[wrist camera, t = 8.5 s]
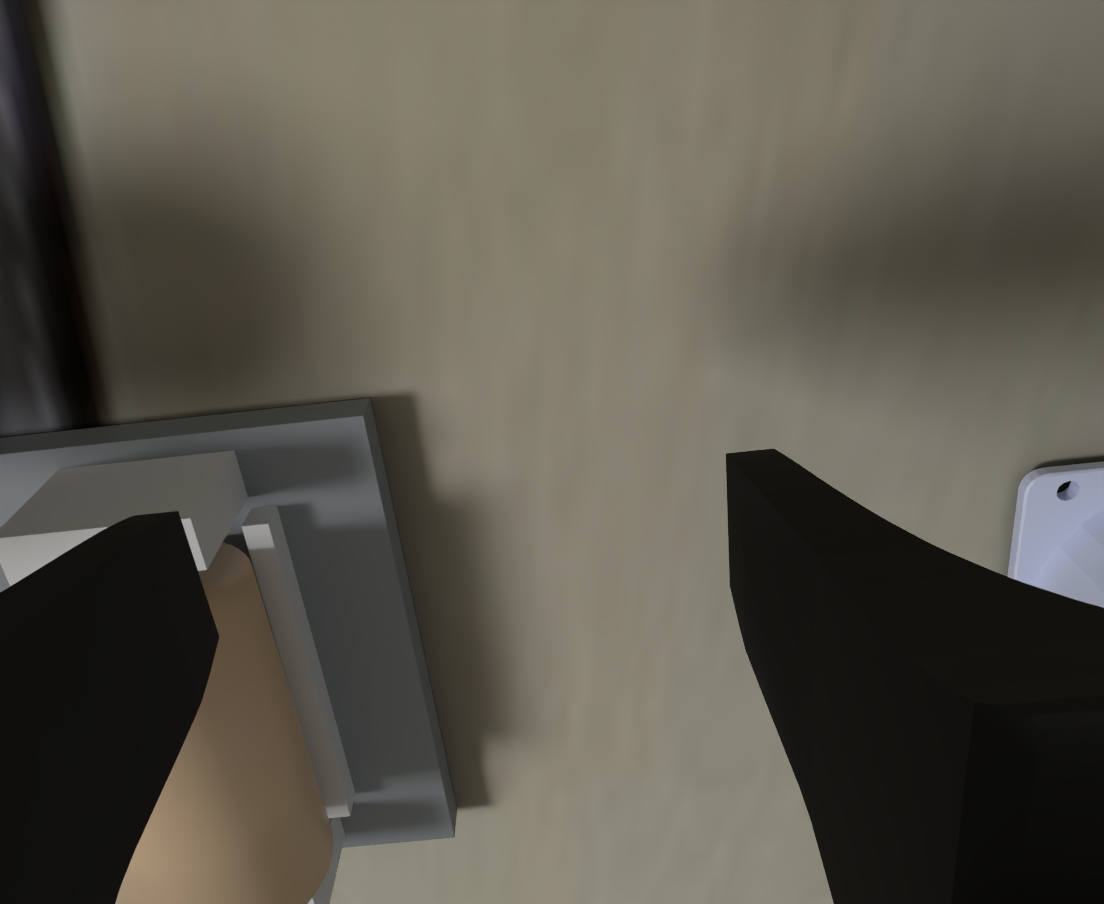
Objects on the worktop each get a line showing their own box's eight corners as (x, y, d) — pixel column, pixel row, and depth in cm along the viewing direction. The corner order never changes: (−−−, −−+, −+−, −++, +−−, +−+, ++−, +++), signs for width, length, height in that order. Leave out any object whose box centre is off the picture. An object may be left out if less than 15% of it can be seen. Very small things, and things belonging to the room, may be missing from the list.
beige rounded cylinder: (288, 535, 22) (186, 681, 17) (359, 791, 25) (289, 967, 21) (90, 541, 22) (-56, 682, 18) (185, 788, 26) (83, 957, 22)
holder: (370, 397, 22) (337, 479, 18) (457, 809, 27) (445, 933, 24) (-55, 443, 22) (-171, 533, 18) (118, 841, 28) (56, 968, 24)
